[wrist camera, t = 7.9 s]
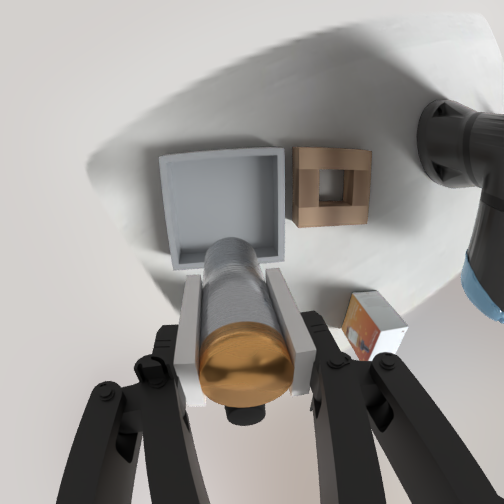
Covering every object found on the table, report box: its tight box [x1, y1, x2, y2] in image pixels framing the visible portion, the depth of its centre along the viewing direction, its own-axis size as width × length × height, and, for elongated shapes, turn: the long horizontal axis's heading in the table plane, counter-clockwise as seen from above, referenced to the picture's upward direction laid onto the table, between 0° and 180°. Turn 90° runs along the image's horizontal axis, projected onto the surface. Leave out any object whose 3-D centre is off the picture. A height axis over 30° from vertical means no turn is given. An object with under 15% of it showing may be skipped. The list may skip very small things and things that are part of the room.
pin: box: [199, 237, 294, 408], centre depth 14 cm, size 4×4×10 cm
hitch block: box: [292, 147, 372, 228], centre depth 34 cm, size 10×10×3 cm
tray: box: [159, 147, 285, 270], centre depth 33 cm, size 14×14×4 cm
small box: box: [342, 291, 409, 361], centre depth 40 cm, size 8×6×10 cm
